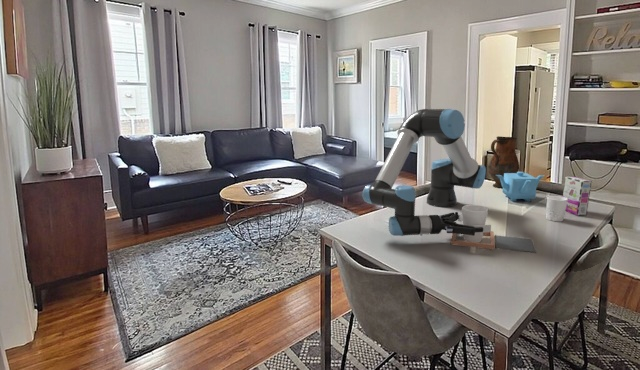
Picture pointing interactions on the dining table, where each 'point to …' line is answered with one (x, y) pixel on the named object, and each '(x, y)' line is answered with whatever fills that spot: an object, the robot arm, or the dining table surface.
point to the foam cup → (474, 219)
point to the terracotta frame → (475, 244)
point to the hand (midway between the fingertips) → (482, 222)
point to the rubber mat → (515, 244)
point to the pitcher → (503, 159)
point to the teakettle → (519, 185)
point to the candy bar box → (577, 195)
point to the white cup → (556, 208)
